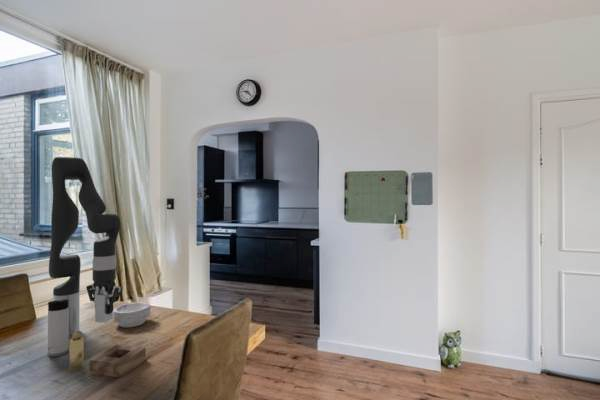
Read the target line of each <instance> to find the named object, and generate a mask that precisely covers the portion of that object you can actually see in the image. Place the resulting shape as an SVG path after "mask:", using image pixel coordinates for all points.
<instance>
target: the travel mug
mask: <svg viewBox="0 0 600 400" xmlns="http://www.w3.org/2000/svg"><path fill="white" fill-rule="evenodd" d="M68 308H69V307H68V300H67V299H65V300H60V301H57V300H55V301H53V300H51V301H48V302H47V356H48V357H54V358H55V357H60V356H64V355H65V354H66V353H68V352H69V351H70V339H69V337H70V336H69V309H68Z"/></svg>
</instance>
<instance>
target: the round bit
mask: <svg viewBox="0 0 600 400" xmlns="http://www.w3.org/2000/svg"><path fill="white" fill-rule="evenodd" d="M71 336H72V337H71V338H70V339H69V358H68V359H69V364H68V365H69V372H77V371H81V370H83V369H84V367H85V363H84V362H85V360H84V358H85V357H84V356H85V353H84V352H85V351H84V349H85V346H84V345H85V342H84V341H85V340H84V339H85V337H84V336H82V332H81V331H79V332H75V333H73V334H72V335H71Z"/></svg>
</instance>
